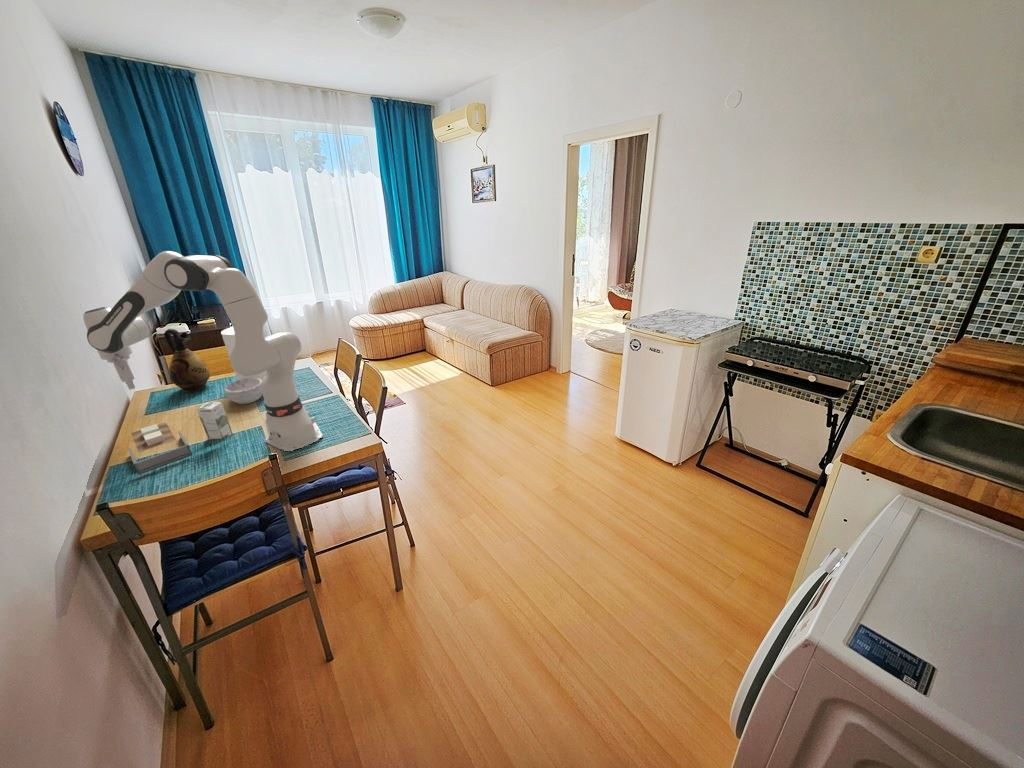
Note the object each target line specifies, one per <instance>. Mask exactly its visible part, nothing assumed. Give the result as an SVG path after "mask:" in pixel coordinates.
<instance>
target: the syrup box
mask: <svg viewBox="0 0 1024 768" xmlns="http://www.w3.org/2000/svg"><path fill="white" fill-rule="evenodd" d="M196 411H197V414H198V415H199V416H198V417H199V419H200V421H201V425H202V427H203V429H204V432H205V434H206V437H207V439H209V440H211V439H212V440H213V439H214V440H216V439H218V440H219V439H221V440H222V439H223V438H225V437H226V436H228V437H231V435H233V431H232V428H231V425H230V423H229V420H228V416H227V414H226V411H225V408H224V406H223V403H222V402H219V401H207V402H206V403H204V404H203V405H201V406H200V407H198V408H197V409H196Z"/></svg>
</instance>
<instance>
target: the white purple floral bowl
mask: <svg viewBox="0 0 1024 768" xmlns="http://www.w3.org/2000/svg"><path fill="white" fill-rule="evenodd" d="M261 382H262V380H261V379H259V378H246V379H241V380H238V381H237V380H235V381H232V382H231V383H228V384H226V386H225V387H224V392H225V395H226V398H227V400H228V401H230V402H233V403H236V404H238V405H245V404H246V405H247V404H252V403H255V402H257V401H259V400H260V399H261V398H262V396H263V394H262V391H261V388H260V385H261Z"/></svg>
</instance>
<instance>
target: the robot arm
mask: <svg viewBox="0 0 1024 768" xmlns="http://www.w3.org/2000/svg"><path fill="white" fill-rule="evenodd" d="M206 290H210V291H212V292H214V293H215V294H216V296H217V297H218V299H219V301H220V303H221V305H222V306H223V309H224V311H225V312H226V315H227V317H228V319H229V321H230V323H231V326H232V327H233V328H234V332H235V345H234V349H233V351H232V353H231V355H230V357H229V363H230V365H231V368H232V369H233V371H234V370H235V371H236V372H237V373H239V374H241V375H243V376H251V375H256V374H260V373H262V372H265V371H267V372H266V375H265V377H264V378H263V380H262V382H261V385H260V388H261V391H262V397H263V400H264V408H265V411H266V414H267V416H266V418H265V420H264V424H265V428H266V431H267V433H268V434H267V435H268V436H266V437H265V443H266V444H268V445H271V446H273V447H275V448H277V449H279V450H281V449H282V450H281V451H283V450H284V451H283V452H285V451H291V450H295V449H298V448H301V447H304V446H306V445H308V444H310V443H313V442H314V441H316V440H318V439H319V438H321V437H322V436H323V437H324V434H323V433H322V431H321V429H320V428H319V426H318V424H317V421H316V418H315V416H312V417H310V416H311V412H310V411H307V409H306V406H304V405H303V402H302V399H301V398H300V395H298V392H297V388H296V383H295V377H294V376H295V375H294V373H295V367H296V366H295V365H296V361H297V359H298V357H299V355H300V353H301V351H302V344H301V340H300V338H298V336H297V335H296V334H295V333H293V332H290V331H281V332H279V331H278V332H275V333H271V334H270V335H267V336H264V326H265V324H266V323H267V322H268V318H269V317H268V313H267V311H266V309H265V308H264V305H263V303H262V301H261V299H260V297H259V295H258V293H257V291H256V290H255V288H254V285H252V283H251V281H250V280H249V279H248V277H247V276H246V275H245V273H244V272H243V271H241V270H240V269H238V268H235V267H234V266H233V264H232V262H231V261H230V260H229V259H228V258H226V257H223V256H221V255H217V254H207V255H205V254H204V255H203V254H191V255H186V256H184V255H182V254H181V253H178V252H176V251H172V250H164V251H162V252H159V253H158V254H157V255H155V256H154V257H153V258H152V260H151V261H149V263H147V265H146V266H145V268H144V269H143V271H142V272H141V274H140V275H139V276H138V277H137V279H136V280H135V282H134V283H133V284H132V286H131V287H130V288H129V289H128V290H126V293H124V295H123V296H122V297H121V298H120V299H118V300H117V302H116V303H115V304H114V305H113V307H112V308H111V307H109V306H101V307H97V308H93V309H91V310H86V311H85V312H84V313H83V314H82V315H83V316H82V318H83V322H84V323H83V324H84V326H85V327H86V330H87V332H86V339H87V341H88V344H89V345H90V346H91V348H94V349H95V350H96V351H97V353H98V355H99V357H100V359H101V360H106V361H107V363H110V364H112V363H113V366H114V368H115V369H114V370H115V371H116V373H117V375H118V377H119V379H120V381H121V382H122V383H125V384H126V386H127V388H128V389H129V390H134V389H136V387H135V384H134V381H133V380H134V379H135V376H134V373H133V371H132V370H131V367H130V365H129V362H128V360H129V359H130V358H131V356H130V355H132V354H133V351H132V350H133V349H132V347H131V346H132V345H134V344H137V343H140V342H142V341H144V340H146V339H148V338H149V337H150V336H151V328H150V325H149V323H148V322H147V321H146V320H145V319H144V318H142V317H140V316H141V315H143V314H144V313H146V312H148V311H152V310H153V309H156V308H159V307H161V306H164V305H165V304H169V303H170V302H171V301H173V300H174V299H175V298H176V297H177V296H179V294H180V293H181V291H187V292H204V291H206ZM316 438H317V439H316Z"/></svg>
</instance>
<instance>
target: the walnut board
mask: <svg viewBox="0 0 1024 768" xmlns="http://www.w3.org/2000/svg"><path fill="white" fill-rule="evenodd" d="M157 426H158V428H159V430H160V432H161V434H162V435H163V438H164V440H165V441H162V442H159V443H156V444H153V445H150V446H148V445H147V443H146V441H145V438H144V436H143V434H142V432H141V429H139V430H137V431H132V432H131V433H130V434H131V436H132V439H133V441H134V444H135V447H136V448H137V451H138V453H141V452H144V451H147V450H149V449H153V448H156V447H158V446H161V445H165V444H168V443H171V442H173V441H176V440H177V439H176V437H175V435H174V434H173V432H172V431H171V429H170V427H169V425H168V423H167V422H163V423H162V422H161V423H159V424H157Z"/></svg>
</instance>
